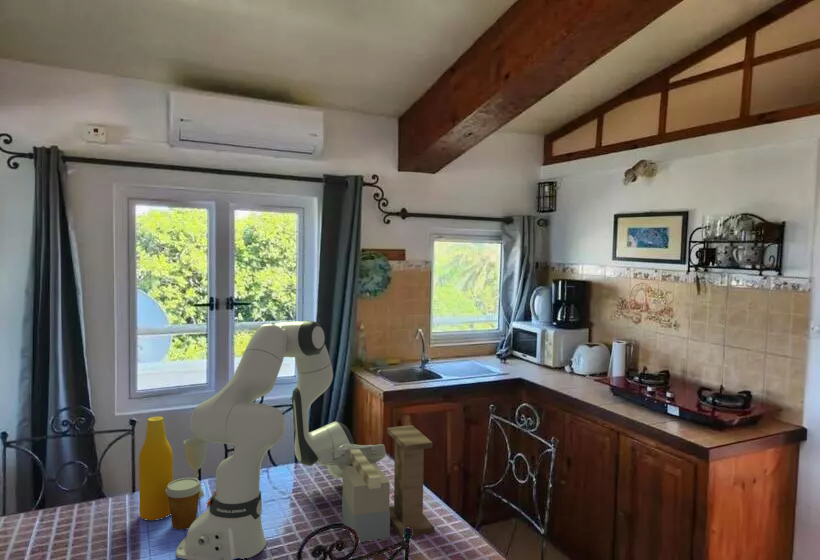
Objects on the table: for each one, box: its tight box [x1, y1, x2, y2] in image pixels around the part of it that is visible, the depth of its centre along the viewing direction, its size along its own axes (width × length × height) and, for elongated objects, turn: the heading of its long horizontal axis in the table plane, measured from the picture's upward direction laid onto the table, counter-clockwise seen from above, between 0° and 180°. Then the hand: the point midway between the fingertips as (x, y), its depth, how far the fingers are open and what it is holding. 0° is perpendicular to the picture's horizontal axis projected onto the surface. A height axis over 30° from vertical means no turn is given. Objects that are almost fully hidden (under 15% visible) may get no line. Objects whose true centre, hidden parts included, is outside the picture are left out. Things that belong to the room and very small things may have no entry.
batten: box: [349, 449, 381, 489], centre depth 158 cm, size 22×3×3 cm, turn 21°
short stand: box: [386, 424, 435, 539], centre depth 161 cm, size 16×10×26 cm, turn 21°
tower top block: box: [342, 462, 391, 516], centre depth 157 cm, size 14×10×8 cm
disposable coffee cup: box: [166, 477, 202, 530], centre depth 158 cm, size 10×10×12 cm
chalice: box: [183, 436, 208, 499], centre depth 176 cm, size 7×7×18 cm
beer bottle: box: [138, 416, 174, 520], centre depth 164 cm, size 9×9×29 cm
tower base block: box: [341, 493, 391, 542], centre depth 157 cm, size 14×10×8 cm
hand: (358, 450), depth 164 cm, fingers open, 8 cm apart
